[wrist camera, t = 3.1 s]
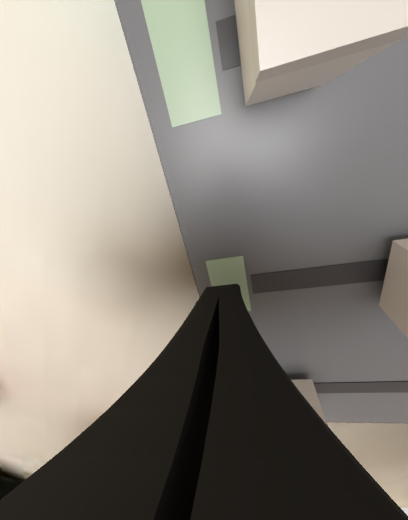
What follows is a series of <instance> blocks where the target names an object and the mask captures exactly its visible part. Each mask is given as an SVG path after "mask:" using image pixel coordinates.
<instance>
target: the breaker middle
mask: <svg viewBox="0 0 408 520" xmlns="http://www.w3.org/2000/svg"><path fill="white" fill-rule="evenodd" d="M379 306H380V307H381V309H382V310H383V311H384V312H385V313H386V314H387V315H388V317H389V318H390V319H391V320H392V321H393V322H394V323H395V325H396V326H397V327H398V328H399V329H400V330H401V331H402V333H403V334H404V335H405V336H406V337H407V338H408V238H407V239H400V240H393V242H392V246H391V251H390V256H389V260H388V265H387V270H386V274H385V279H384V284H383V288H382V293H381V298H380V302H379Z"/></svg>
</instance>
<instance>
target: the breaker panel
mask: <svg viewBox="0 0 408 520" xmlns="http://www.w3.org/2000/svg"><path fill="white" fill-rule="evenodd" d="M114 1H115V4H116V8H117V11H118V15H119V18H120V22H121V25H122V29H123V32H124V36H125V39H126V43H127V46H128V50H129V53H130V56H131V60H132V63H133V67H134V70H135V74H136V77H137V81H138V84H139V88H140V91H141V95H142V98H143V102H144V105H145V109H146V112H147V116H148V119H149V122H150V126H151V129H152V133H153V136H154V140H155V143H156V147H157V150H158V154H159V157H160V161H161V164H162V168H163V171H164V175H165V178H166V181H167V185H168V188H169V192H170V195H171V199H172V202H173V206H174V209H175V213H176V216H177V220H178V223H179V227H180V230H181V234H182V237H183V241H184V244H185V247H186V251H187V254H188V258H189V261H190V265H191V268H192V272H193V275H194V279H195V282H196V286H197V289H198V293H199V296H201V295H202V293H203V291H204V290H205V288H206V287H211V286H220V285H229V284H238V285H240V289H241V295H242V298H243V301H244V303H245V306H246V308H247V310H248V312H249V314H250V316H251V318H252V320H253V322H254V324H255V326H256V328H257V330H258V331H259V333H260V335H261V336H262V338H263V340H264V341H265V343H266V345H267V346H268V348H269V349H270V351H271V352H272V354H273V355H274V357H275V358H276V360H277V361H278V363H279V364H280V366H281V367H282V368H283V370H284V371H285V373H286V374H287V375H288V377H289V378H290V379H291V380H298V379H312V380H313V383H314V386H315V389H316V392H317V395H318V398H319V401H320V404H321V407H322V410H323V413H324V416H325V419H326V422H346V423H408V338H407V337H406V336H405V335H404V334H403V333H402V331H401V330H400V329H399V328H398V327H397V326H396V325H395V323H394V322H393V321H392V320H391V319H390V318H389V317H388V315H387V314H386V313H385V312H384V311H383V310H382V309H381V307H380V306H379V302H380V298H381V293H382V288H383V284H384V279H385V274H386V270H387V265H388V260H389V256H390V251H391V246H392V242H393V240H400V239H407V238H408V38H405V39H402V40H400V41H398V42H396V43H395V44H393V45H391V46H389V47H388V48H386V49H384V50H382V51H381V52H379V53H377V54H375V55H374V56H372V57H370V58H368V59H367V60H365V61H363V62H361V63H360V64H358V65H356V66H354V67H353V68H351V69H349V70H347V71H346V72H344V73H342V74H340V75H339V76H337V77H335V78H333V79H332V80H330V81H328V82H326V83H325V84H323V85H321V86H317V87H314V88H310V89H306V90H303V91H299V92H296V93H292V94H288V95H285V96H281V97H277V98H274V99H270V100H267V101H263V102H259V103H256V104H252V105H248V106H245V98H244V88H243V79H242V69H241V60H240V50H239V41H238V31H237V22H236V12H235V3H234V0H114Z"/></svg>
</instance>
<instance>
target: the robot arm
mask: <svg viewBox="0 0 408 520" xmlns="http://www.w3.org/2000/svg"><path fill="white" fill-rule="evenodd" d="M0 520H408V516H407V515H406V514H405V513H404V512H403V510H402V509H401V508H400V507H399V506H398V505H397V504H396V503H395V502H394V501H393V500H392V499H391V498H390V496H389V495H388V494H387V493H386V492H385V491H384V490H383V489H382V488H381V486H380V485H379V484H378V483H377V482H376V481H375V480H374V479H373V478H372V476H371V475H370V474H369V473H368V472H367V471H366V470H365V469H364V468H363V467H362V465H361V464H360V463H359V462H358V461H357V460H356V459H355V457H354V456H353V455H352V454H351V453H350V452H349V450H348V449H347V448H346V447H345V446H344V445H343V444H342V442H341V441H340V440H339V439H338V438H337V437H336V435H335V434H334V433H333V432H332V431H331V430H330V428H329V427H328V426H327V425H326V423H325V422H324V421H323V420H322V419H321V417H320V416H319V415H318V414H317V412H316V411H315V410H314V409H313V407H312V406H311V405H310V404H309V402H308V401H307V400H306V399H305V398H304V396H303V395H302V394H301V393H300V391H299V390H298V389H297V387H296V386H295V385H294V383H293V382H292V381H291V379H290V378H289V377H288V375H287V374H286V373H285V371H284V370H283V368H282V367H281V366H280V364H279V363H278V361H277V360H276V358H275V357H274V355H273V354H272V352H271V351H270V349H269V348H268V346H267V345H266V343H265V341H264V340H263V338H262V336H261V335H260V333H259V331H258V330H257V328H256V326H255V324H254V322H253V320H252V318H251V316H250V314H249V312H248V310H247V308H246V306H245V303H244V301H243V298H242V295H241V289H240V285H238V284H229V285H220V286H211V287H206V288H205V290H204V291H203V293H202V295H201V296H200V298H199V300H198V301H197V303H196V304H195V306H194V308H193V309H192V311H191V312H190V314H189V315H188V317H187V318H186V320H185V321H184V323H183V324H182V326H181V327H180V329H179V330H178V331H177V333H176V334H175V335H174V337H173V338H172V339H171V341H170V342H169V343H168V345H167V346H166V347H165V349H164V350H163V351H162V352H161V354H160V355H159V356H158V357H157V358H156V360H155V361H154V362H153V363H152V364H151V365H150V366H149V368H148V369H147V370H146V371H145V372H144V373H143V374H142V375H141V376H140V378H139V379H138V380H137V381H136V382H135V383H134V384H133V385H132V386H131V387H130V388H129V389H128V390H127V391H126V392H125V393H124V394H123V395H122V396H121V397H120V398H119V399H118V400H117V401H116V402H115V403H114V404H113V405H112V406H111V407H110V408H109V409H108V410H107V411H106V412H105V413H103V414H102V415H101V416H100V417H99V418H98V419H97V420H96V421H95V422H94V423H93V424H91V425H90V426H89V427H88V428H87V429H86V430H85V431H84V432H82V433H81V434H80V435H79V436H78V437H77V438H76V439H74V440H73V441H72V442H71V443H70V444H69V445H68V446H66V447H65V448H64V449H63V450H62V451H60V452H59V453H58V454H57V455H56V456H54V457H53V458H52V459H51V460H49V461H48V462H47V463H46V464H45V465H43V466H42V467H41V468H40V469H38V470H37V471H36V472H35V473H33V474H32V475H31V476H30V477H28V478H27V479H26V480H25V481H24V482H22V483H21V484H20V485H19V486H17V487H16V488H15V489H14V490H12V491H11V492H10V493H9V494H7V495H6V496H5V497H3V498H2V499H1V500H0Z"/></svg>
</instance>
